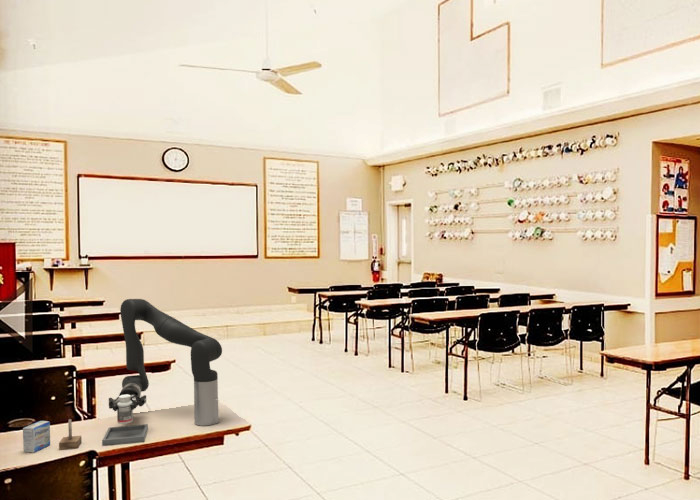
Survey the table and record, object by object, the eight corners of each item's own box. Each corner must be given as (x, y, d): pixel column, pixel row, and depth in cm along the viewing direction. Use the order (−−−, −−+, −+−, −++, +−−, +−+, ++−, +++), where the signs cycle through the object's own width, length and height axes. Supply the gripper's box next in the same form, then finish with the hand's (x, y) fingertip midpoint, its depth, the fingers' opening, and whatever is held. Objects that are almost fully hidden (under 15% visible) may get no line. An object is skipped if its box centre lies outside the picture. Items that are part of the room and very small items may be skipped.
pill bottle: (120, 419, 208) (119, 393, 208) (134, 419, 209) (134, 393, 208) (115, 424, 203) (114, 398, 202) (130, 424, 203) (130, 397, 203)
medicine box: (34, 453, 191) (33, 428, 191) (22, 452, 192) (22, 427, 192) (50, 444, 199) (50, 421, 199) (39, 444, 200) (39, 420, 199)
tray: (147, 429, 214) (147, 424, 214) (143, 441, 201) (143, 436, 200) (108, 432, 211) (108, 427, 210) (102, 445, 197) (102, 440, 197)
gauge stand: (81, 442, 201) (80, 416, 201) (77, 448, 195) (77, 421, 195) (63, 444, 199) (62, 417, 199) (59, 450, 193) (58, 423, 193)
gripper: (110, 386, 217) (102, 399, 201) (149, 384, 221) (144, 396, 205) (110, 405, 218) (102, 419, 201) (149, 402, 221) (144, 416, 205)
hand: (124, 407), depth 203 cm, fingers closed on pill bottle, 5 cm apart
